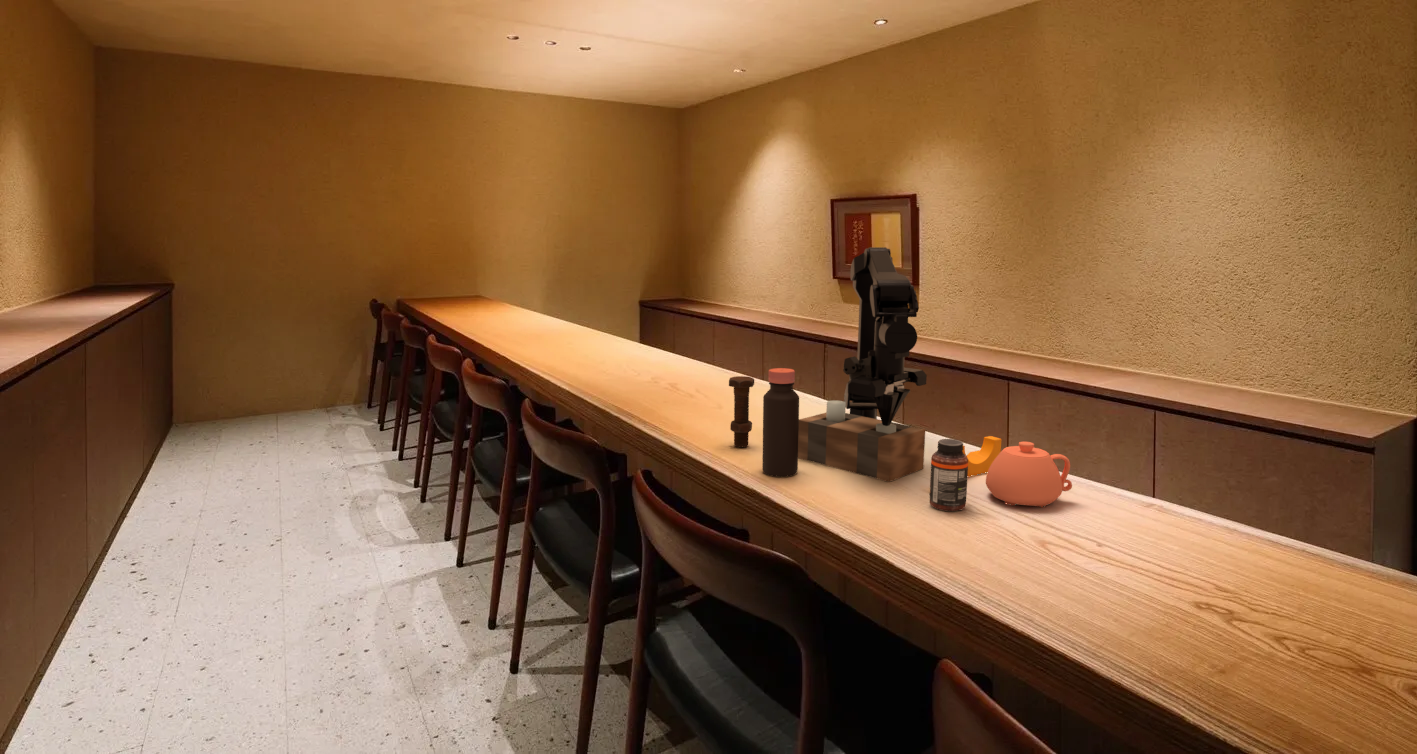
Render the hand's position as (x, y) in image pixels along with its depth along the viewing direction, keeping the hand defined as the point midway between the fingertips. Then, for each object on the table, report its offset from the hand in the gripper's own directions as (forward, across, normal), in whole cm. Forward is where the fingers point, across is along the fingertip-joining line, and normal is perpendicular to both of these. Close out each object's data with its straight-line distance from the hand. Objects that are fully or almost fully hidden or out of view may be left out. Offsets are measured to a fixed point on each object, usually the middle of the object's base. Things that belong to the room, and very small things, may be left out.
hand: (886, 425), depth 148 cm
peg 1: (+4, 0, -12) cm, 13 cm away
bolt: (+9, +8, -31) cm, 33 cm away
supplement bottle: (+9, +10, +19) cm, 23 cm away
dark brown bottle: (+9, +16, -13) cm, 23 cm away
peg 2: (+7, 0, 0) cm, 7 cm away
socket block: (+9, 0, -6) cm, 11 cm away
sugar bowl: (+9, -3, +27) cm, 29 cm away
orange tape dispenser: (+9, -10, +12) cm, 19 cm away
